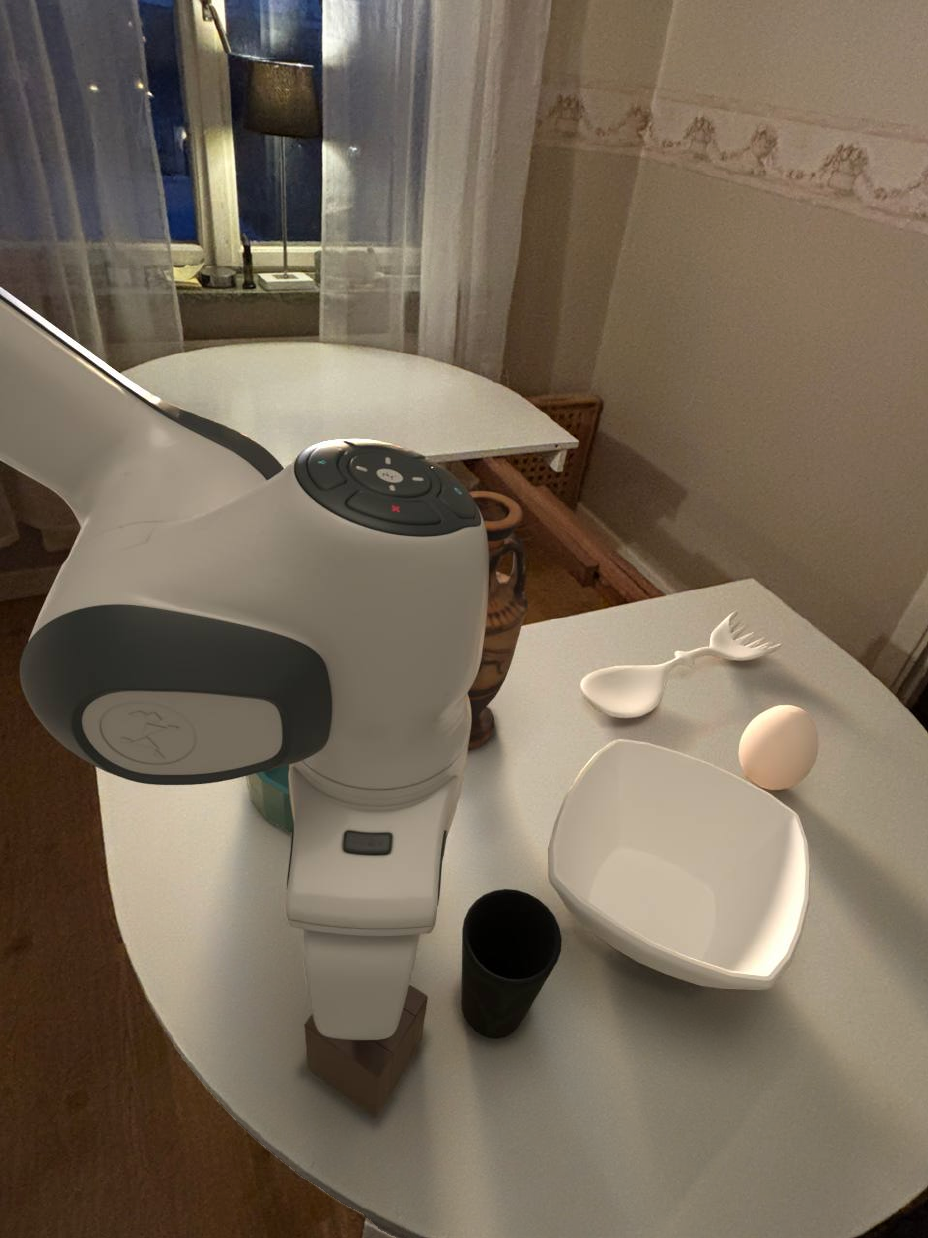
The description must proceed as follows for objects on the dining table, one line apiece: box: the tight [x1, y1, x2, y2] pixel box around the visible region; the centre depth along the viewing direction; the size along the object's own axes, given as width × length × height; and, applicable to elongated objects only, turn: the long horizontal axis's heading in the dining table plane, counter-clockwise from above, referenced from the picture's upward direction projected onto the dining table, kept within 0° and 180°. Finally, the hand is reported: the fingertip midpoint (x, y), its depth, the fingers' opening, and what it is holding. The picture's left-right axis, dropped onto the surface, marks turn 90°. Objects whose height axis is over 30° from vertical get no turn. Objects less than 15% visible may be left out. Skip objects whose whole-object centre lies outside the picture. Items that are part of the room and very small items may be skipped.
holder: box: [304, 984, 429, 1119], centre depth 57 cm, size 7×7×8 cm
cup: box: [460, 888, 563, 1040], centre depth 60 cm, size 8×8×12 cm
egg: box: [738, 704, 819, 791], centre depth 84 cm, size 8×8×11 cm
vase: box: [468, 490, 529, 750], centre depth 80 cm, size 11×11×30 cm
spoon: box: [579, 610, 783, 719], centre depth 99 cm, size 9×32×4 cm, turn 122°
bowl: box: [547, 738, 811, 991], centre depth 69 cm, size 22×22×12 cm
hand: (372, 904), depth 46 cm, fingers open, 8 cm apart
